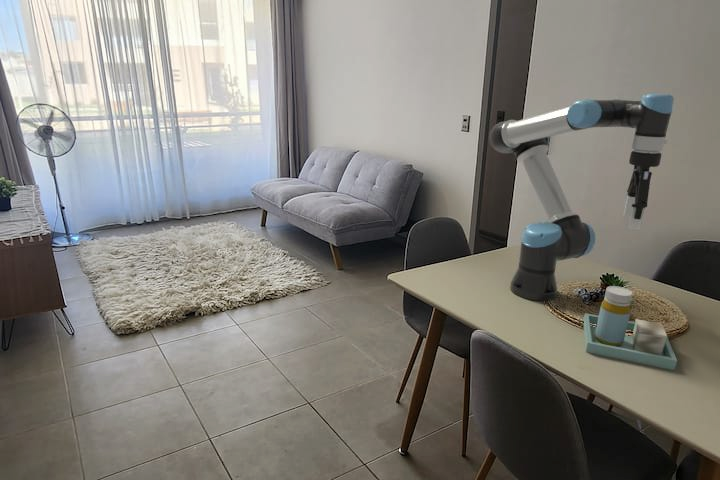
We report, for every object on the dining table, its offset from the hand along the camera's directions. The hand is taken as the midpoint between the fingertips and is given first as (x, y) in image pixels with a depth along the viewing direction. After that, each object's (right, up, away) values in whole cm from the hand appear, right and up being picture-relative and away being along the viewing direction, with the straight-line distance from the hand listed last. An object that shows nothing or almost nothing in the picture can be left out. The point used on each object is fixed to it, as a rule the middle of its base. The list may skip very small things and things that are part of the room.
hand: (630, 223), depth 137 cm
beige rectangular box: (-4, -34, -13) cm, 37 cm away
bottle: (-12, -33, -10) cm, 36 cm away
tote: (-8, -34, -11) cm, 37 cm away
